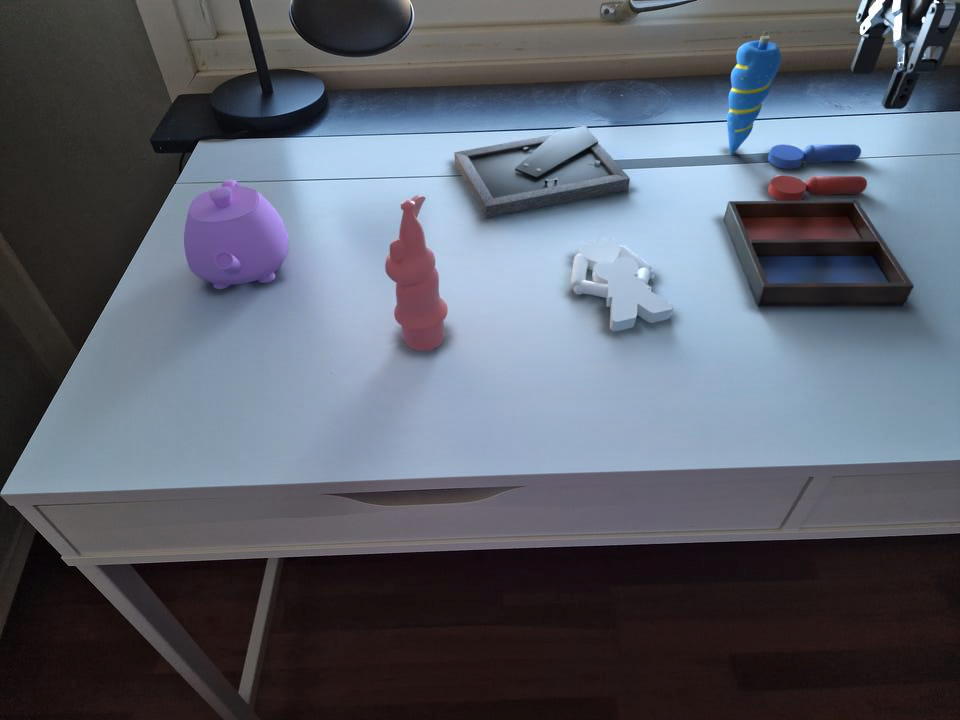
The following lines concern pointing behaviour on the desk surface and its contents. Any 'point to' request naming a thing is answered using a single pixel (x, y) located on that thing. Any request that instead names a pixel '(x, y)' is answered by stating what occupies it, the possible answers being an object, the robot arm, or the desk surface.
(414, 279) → the figurine
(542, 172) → the picture frame
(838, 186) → the red spoon
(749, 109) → the ornament
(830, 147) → the blue spoon
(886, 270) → the cutlery tray
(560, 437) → the desk surface
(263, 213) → the teapot
